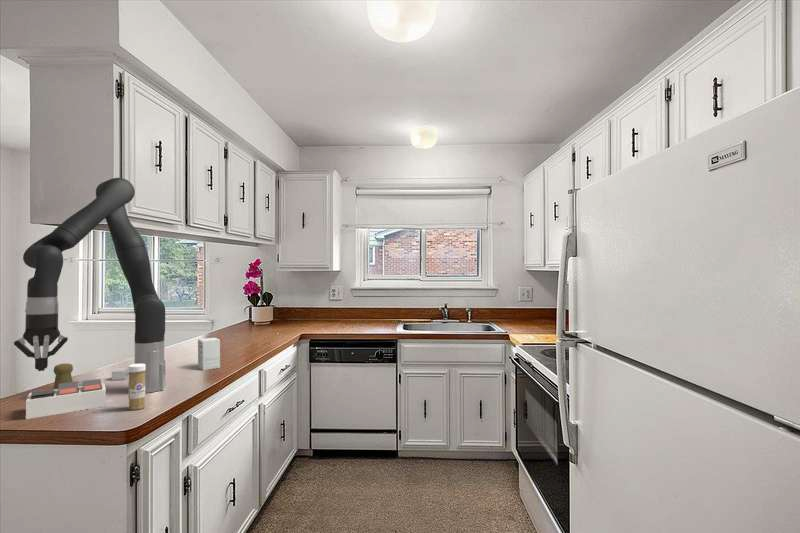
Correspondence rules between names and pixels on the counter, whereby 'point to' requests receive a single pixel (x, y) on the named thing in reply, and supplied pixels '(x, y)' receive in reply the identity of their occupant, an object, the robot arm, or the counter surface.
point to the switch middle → (68, 388)
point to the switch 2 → (91, 385)
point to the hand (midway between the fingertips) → (41, 370)
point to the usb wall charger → (120, 374)
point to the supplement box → (208, 353)
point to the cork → (62, 374)
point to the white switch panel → (64, 402)
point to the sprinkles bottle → (136, 386)
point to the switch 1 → (43, 392)
